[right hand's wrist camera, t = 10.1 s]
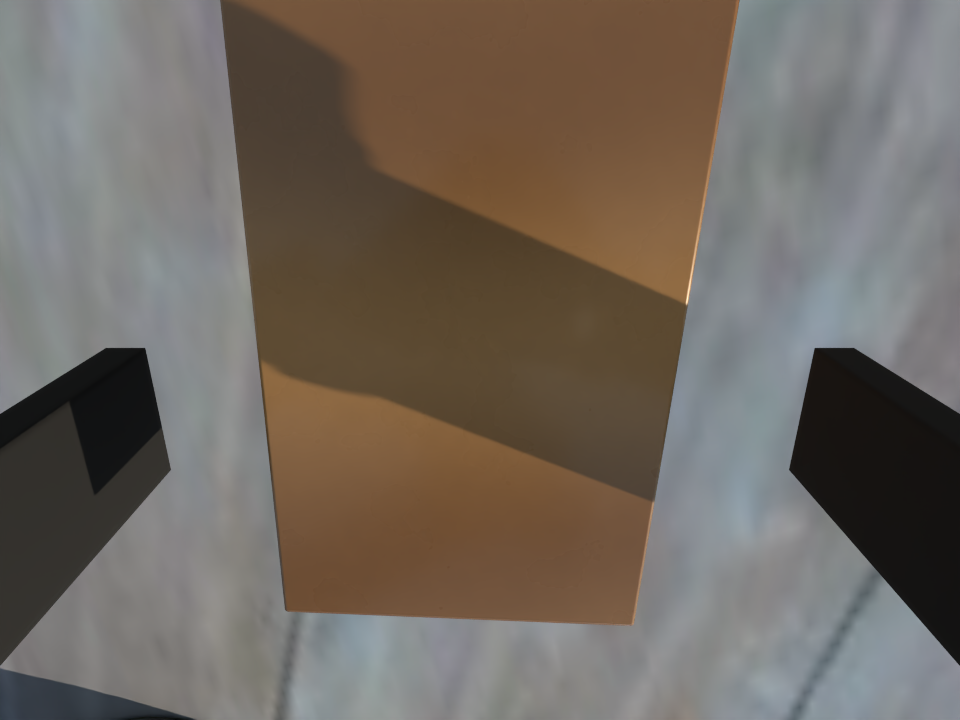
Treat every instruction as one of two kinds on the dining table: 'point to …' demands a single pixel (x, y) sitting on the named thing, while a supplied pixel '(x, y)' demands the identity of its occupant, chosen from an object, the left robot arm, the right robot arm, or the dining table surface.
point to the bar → (471, 289)
